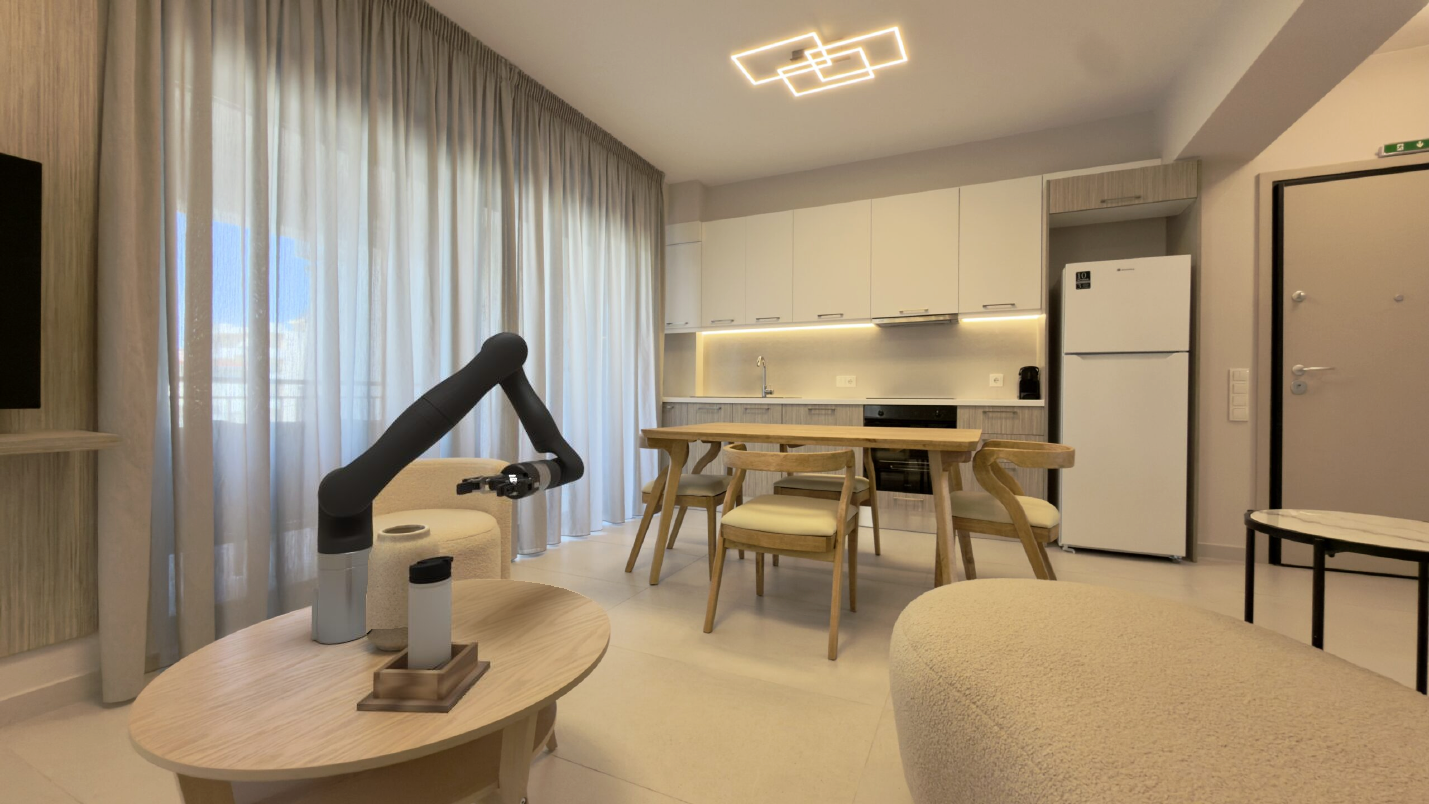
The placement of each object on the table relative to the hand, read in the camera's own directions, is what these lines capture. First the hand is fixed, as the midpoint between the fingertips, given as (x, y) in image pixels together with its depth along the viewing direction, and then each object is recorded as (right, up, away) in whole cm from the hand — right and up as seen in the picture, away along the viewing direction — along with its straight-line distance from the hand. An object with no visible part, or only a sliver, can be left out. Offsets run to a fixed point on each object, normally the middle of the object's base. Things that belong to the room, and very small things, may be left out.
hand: (478, 490), depth 101 cm
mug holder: (-2, -30, -13) cm, 33 cm away
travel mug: (-2, -29, -13) cm, 32 cm away
